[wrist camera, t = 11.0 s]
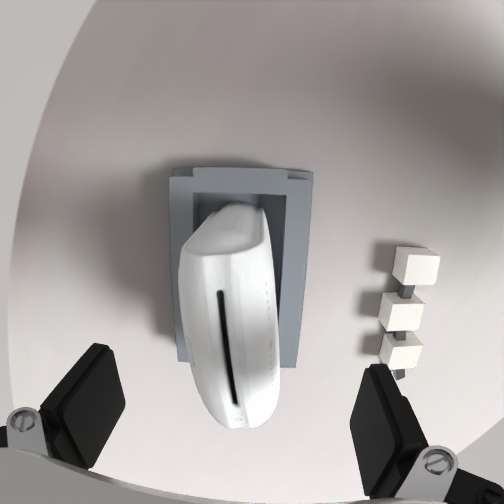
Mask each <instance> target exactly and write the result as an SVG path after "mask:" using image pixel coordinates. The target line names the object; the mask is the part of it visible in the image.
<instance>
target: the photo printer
mask: <svg viewBox="0 0 504 504" xmlns="http://www.w3.org/2000/svg"><path fill="white" fill-rule="evenodd" d="M178 287H179V299H180V309H181V318H182V324H183V331H184V337H185V342H186V348H187V352H188V357H189V362H190V366H191V370H192V374H193V377H194V380H195V384H196V386H197V389H198V392H199V394H200V395H201V398H202V400H203V402H204V404H205V406H206V408H207V409H208V411H209V412H210V414H211V415H212V416H213V417H214V419H215V420H216V421H217V422H218V423H220V424H221V425H223V426H224V427H226V428H229V429H233V428H237V427H248V428H253V427H257V426H258V425H260V424H262V423H263V422H265V421H266V420H267V419H268V418H269V417H270V416H271V414H272V413H273V411H274V408H275V406H276V403H277V400H278V396H279V386H280V358H279V335H278V319H277V306H276V293H275V279H274V267H273V258H272V250H271V242H270V235H269V229H268V224H267V219H266V215H265V213H264V210H263V208H256V207H255V206H254V205H252V204H250V203H246V202H233V203H229V204H227V205H225V206H224V207H223V208H221V209H220V210H219V211H214V212H212V213H211V214H210V215H209V217H208V218H207V219H206V220H205V221H204V222H203V223H202V225H201V226H200V227H199V228H198V229H197V230H196V231H195V233H194V234H193V235H192V236H191V237H190V238H189V240H188V241H187V242H186V243H185V244H184V245H183V247H182V249H181V255H180V264H179V270H178Z"/></svg>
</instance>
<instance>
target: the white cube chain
mask: <svg viewBox="0 0 504 504" xmlns="http://www.w3.org/2000/svg"><path fill="white" fill-rule="evenodd" d="M439 262H440V256H439V255H438V254H436V253H434V252H433V251H431V250H429V249H428V248H416V247H396V254H395V260H394V267H393V273H392V275H393V276H394V277H395V278H396V279H398V280H399V281H400V282H401V285H400V288H399V291H398V292H383V294H382V299H381V304H380V309H379V314H378V319H379V320H380V322H381V323H382V325H383V326H384V328H385V329H386V331H393V333H384V337H383V341H382V345H381V349H380V353H379V357H380V359H381V360H382V362H383V364H387V365H388V367H389V369H390V370H393V375H394V377H395V379H396V380H399V379H402V378H404V377H405V369H407V368H416V366H417V363H418V360H419V356H420V353H421V350H422V347H423V345H422V343H421V342H420V341H419V339H418V338H417V337H416V336H415V334H414V333H413V332H406V330H418V328H419V324H420V321H421V317H422V313H423V309H424V305H425V303H423V302H422V301H421V300H420V299H419V298H418V297H417V296H416V295H415V294H414V293H413V291H414V288H415V285H435V282H436V277H437V272H438V267H439Z"/></svg>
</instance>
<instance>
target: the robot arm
mask: <svg viewBox="0 0 504 504" xmlns="http://www.w3.org/2000/svg"><path fill="white" fill-rule="evenodd" d="M40 407H41V408H40V410H39V411H37V410H35V409H33V408H29V407H22V408H19V409H16V410H15V411H13V412H12V413H11V414H10V415H9V416H8V419H7V423H6V424H7V425H6V426H2V427H0V504H265V503H247V502H235V501H224V500H216V499H208V498H201V497H194V496H188V495H182V494H176V493H171V492H166V491H161V490H157V489H152V488H148V487H143V486H139V485H135V484H132V483H128V482H124V481H121V480H117V479H114V478H110V477H107V476H104V475H101V474H98V473H94V472H91V471H88V469H89V468H92V467H93V466H94V464H95V463H96V461H97V459H98V457H99V455H100V453H101V451H102V449H103V447H104V446H105V444H106V442H107V440H108V438H109V436H110V434H111V432H112V431H113V429H114V427H115V425H116V423H117V421H118V419H119V418H120V416H121V414H122V412H123V410H124V408H125V398H124V394H123V390H122V386H121V382H120V378H119V374H118V370H117V366H116V361H115V357H114V353H113V351H112V350H111V349H110V348H109V346H108V345H104V344H98V343H94V344H92V345H91V346H90V348H89V349H88V350H87V351H86V352H85V353H84V354H83V356H82V357H81V358H80V359H79V360H78V361H77V363H76V364H75V365H74V366H73V367H72V368H71V370H70V371H69V372H68V373H67V374H66V375H65V377H64V378H63V379H62V380H61V381H60V382H59V384H58V385H57V386H56V387H55V388H54V390H53V391H52V392H51V393H50V394H49V396H48V397H47V398H46V399H45V401H44V402H43V403H42V404H41V405H40ZM350 430H351V434H352V438H353V443H354V447H355V452H356V456H357V461H358V465H359V470H360V475H361V480H362V484H363V489H364V494H365V496H369V497H370V500H361V501H351V502H337V503H317V504H504V489H503V488H502V487H501V486H500V485H498V484H496V483H494V482H491V481H489V480H486V479H484V478H481V477H478V476H476V475H473V474H471V473H468V472H466V471H464V470H461V469H459V468H457V467H458V459H457V457H456V455H455V453H454V452H452V451H451V450H450V449H448V448H446V447H443V446H430V447H429V445H428V443H427V440H426V438H425V436H424V433H423V431H422V429H421V427H420V425H419V422H418V420H417V418H416V416H415V414H414V411H413V409H412V407H411V405H410V403H409V401H408V399H407V398H406V397H405V396H402V395H401V393H400V390H399V388H398V386H397V384H396V382H395V380H394V378H393V376H392V374H391V371H390V369H389V367H388V365H387V364H371V365H370V367H369V368H366V369H365V371H364V374H363V378H362V381H361V385H360V388H359V392H358V395H357V399H356V402H355V405H354V408H353V412H352V415H351V418H350Z"/></svg>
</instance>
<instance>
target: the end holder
mask: <svg viewBox="0 0 504 504" xmlns="http://www.w3.org/2000/svg"><path fill="white" fill-rule="evenodd" d="M312 184H313V172H302V171H288V170H286V169H268V168H236V167H195V168H175V169H173V176H172V177H169V225H170V256H171V277H172V294H173V309H174V322H175V334H176V345H177V355H178V361H179V362H189V357H188V352H187V348H186V342H185V337H184V331H183V324H182V318H181V309H180V299H179V287H178V270H179V264H180V255H181V249H182V247H183V245H184V244H185V243H186V242H187V241H188V240H189V238H190V237H191V236H192V235H193V234H194V233H195V231H196V230H197V229H198V228H199V227H200V226H201V225H202V223H203V222H204V221H205V220H206V219H207V218H208V217H209V215H210V214H211V213H212V212H214V211H219V210H220V209H221V208H223V207H224V206H225V205H227V204H229V203H233V202H246V203H250V204H252V205H254V206H255V207H256V208H263V210H264V213H265V215H266V219H267V224H268V229H269V235H270V242H271V250H272V258H273V267H274V279H275V293H276V306H277V319H278V335H279V358H280V368H296V361H297V354H298V346H299V337H300V329H301V320H302V310H303V301H304V290H305V280H306V269H307V257H308V245H309V232H310V217H311V202H312Z"/></svg>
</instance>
